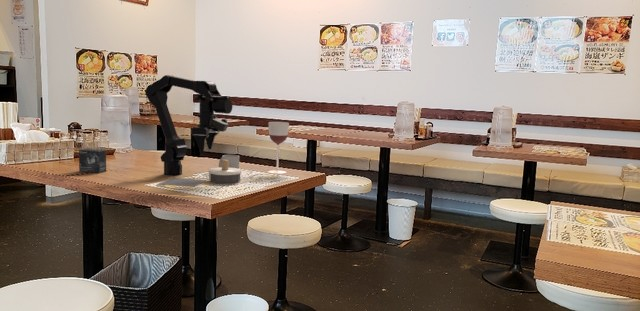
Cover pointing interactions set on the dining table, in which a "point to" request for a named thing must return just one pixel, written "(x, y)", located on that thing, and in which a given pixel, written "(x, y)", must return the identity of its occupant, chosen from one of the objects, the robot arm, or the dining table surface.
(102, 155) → the box
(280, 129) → the wineglass
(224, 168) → the lid
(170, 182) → the mat
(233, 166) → the cup
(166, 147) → the robot arm
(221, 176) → the bowl
